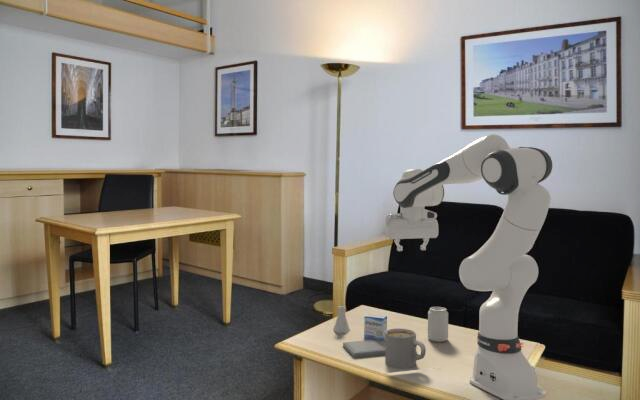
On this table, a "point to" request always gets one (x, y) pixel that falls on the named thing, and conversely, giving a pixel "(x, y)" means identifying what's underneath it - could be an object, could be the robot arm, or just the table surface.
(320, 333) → the table surface
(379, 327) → the medicine box
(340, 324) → the flask
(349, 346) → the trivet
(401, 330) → the coffee mug
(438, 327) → the can
